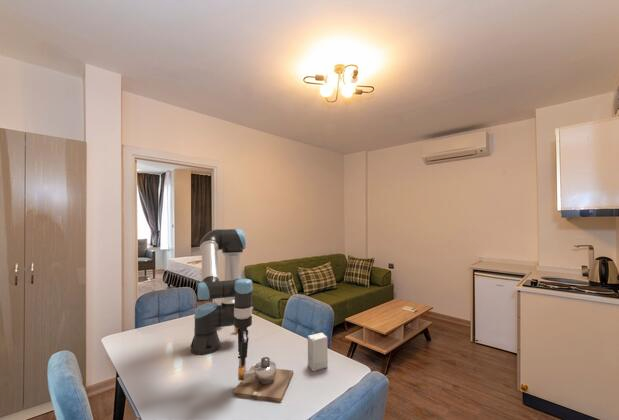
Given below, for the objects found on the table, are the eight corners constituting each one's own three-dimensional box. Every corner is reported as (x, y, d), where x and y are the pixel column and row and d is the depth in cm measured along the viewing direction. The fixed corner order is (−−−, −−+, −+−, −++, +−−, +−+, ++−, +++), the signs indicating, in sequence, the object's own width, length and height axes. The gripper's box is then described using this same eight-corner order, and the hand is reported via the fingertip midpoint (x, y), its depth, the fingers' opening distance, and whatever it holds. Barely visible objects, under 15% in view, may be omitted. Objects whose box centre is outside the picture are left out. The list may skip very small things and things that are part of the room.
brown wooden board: (231, 396, 110) (232, 388, 110) (251, 369, 130) (251, 362, 130) (280, 402, 106) (281, 394, 106) (293, 373, 126) (293, 366, 126)
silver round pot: (274, 368, 124) (274, 353, 124) (277, 380, 115) (277, 363, 115) (238, 373, 120) (238, 356, 120) (237, 385, 111) (238, 367, 111)
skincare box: (322, 362, 137) (322, 331, 137) (328, 368, 131) (328, 336, 132) (306, 365, 133) (307, 334, 133) (312, 372, 128) (312, 339, 128)
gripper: (254, 320, 114) (254, 377, 113) (248, 310, 126) (248, 362, 125) (236, 322, 111) (235, 382, 110) (232, 312, 123) (231, 365, 122)
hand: (242, 371), depth 118 cm, fingers closed
